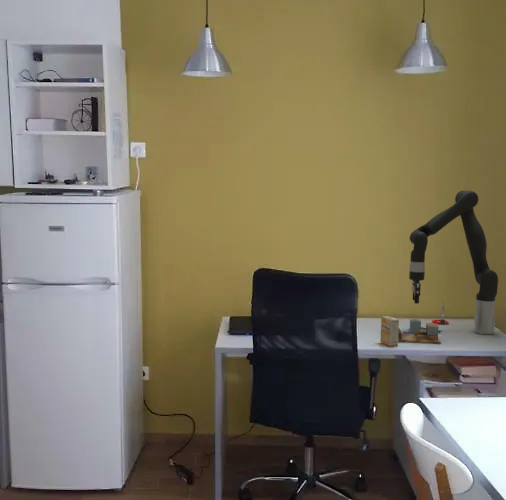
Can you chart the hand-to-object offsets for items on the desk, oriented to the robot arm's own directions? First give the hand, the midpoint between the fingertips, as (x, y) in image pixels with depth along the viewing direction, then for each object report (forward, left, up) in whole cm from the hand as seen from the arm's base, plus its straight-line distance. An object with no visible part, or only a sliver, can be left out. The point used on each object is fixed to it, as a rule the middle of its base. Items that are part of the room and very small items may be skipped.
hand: (415, 301), depth 335 cm
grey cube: (-7, +14, -15) cm, 21 cm away
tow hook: (-17, -27, -17) cm, 36 cm away
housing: (0, +1, -16) cm, 17 cm away
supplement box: (+15, +25, -17) cm, 33 cm away
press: (0, +14, -16) cm, 21 cm away
